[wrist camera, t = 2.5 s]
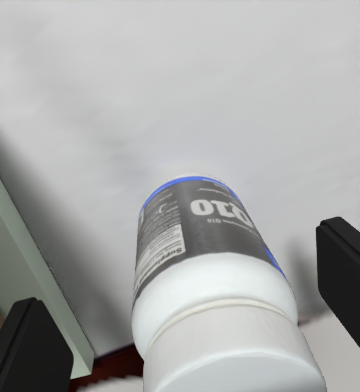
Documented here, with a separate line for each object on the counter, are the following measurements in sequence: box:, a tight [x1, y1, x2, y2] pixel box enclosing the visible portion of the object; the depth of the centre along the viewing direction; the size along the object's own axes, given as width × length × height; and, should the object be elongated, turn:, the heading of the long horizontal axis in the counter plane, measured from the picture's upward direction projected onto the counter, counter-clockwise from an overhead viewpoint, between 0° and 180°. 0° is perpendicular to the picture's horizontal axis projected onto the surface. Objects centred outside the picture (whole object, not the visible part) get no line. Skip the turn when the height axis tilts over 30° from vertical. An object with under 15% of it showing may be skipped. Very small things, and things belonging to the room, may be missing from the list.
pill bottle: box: [131, 174, 327, 392], centre depth 10 cm, size 5×5×8 cm
